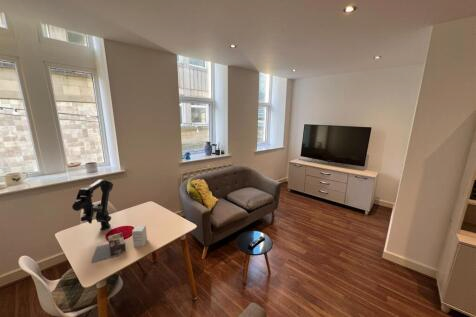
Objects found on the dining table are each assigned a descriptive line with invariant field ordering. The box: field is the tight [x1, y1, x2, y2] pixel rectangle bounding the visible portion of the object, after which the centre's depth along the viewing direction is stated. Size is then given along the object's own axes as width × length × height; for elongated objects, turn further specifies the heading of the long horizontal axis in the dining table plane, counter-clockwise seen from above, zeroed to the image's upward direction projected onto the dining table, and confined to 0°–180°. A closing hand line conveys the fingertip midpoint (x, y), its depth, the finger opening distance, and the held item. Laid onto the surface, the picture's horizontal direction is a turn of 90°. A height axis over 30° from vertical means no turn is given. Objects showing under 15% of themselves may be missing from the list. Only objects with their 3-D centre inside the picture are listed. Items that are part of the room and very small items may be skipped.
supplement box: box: [131, 225, 148, 247], centre depth 144 cm, size 7×7×13 cm
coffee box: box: [107, 232, 126, 256], centre depth 139 cm, size 9×6×16 cm
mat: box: [91, 243, 120, 264], centre depth 136 cm, size 17×15×1 cm
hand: (90, 223), depth 147 cm, fingers closed
